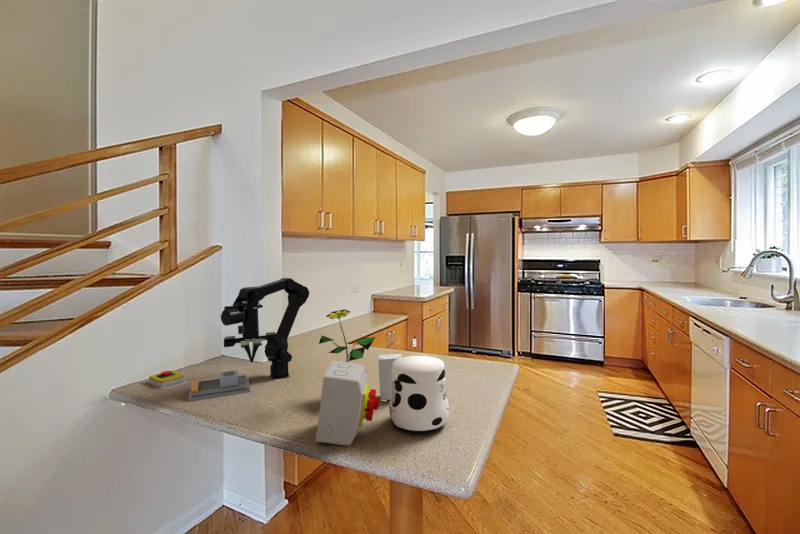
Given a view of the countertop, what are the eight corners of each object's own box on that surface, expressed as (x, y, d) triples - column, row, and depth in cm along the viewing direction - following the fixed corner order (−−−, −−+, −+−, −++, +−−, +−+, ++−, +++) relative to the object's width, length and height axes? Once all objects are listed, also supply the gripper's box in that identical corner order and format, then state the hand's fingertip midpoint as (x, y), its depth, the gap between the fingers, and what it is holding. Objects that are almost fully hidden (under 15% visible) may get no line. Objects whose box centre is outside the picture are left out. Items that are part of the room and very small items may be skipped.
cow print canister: (460, 422, 112) (459, 361, 111) (424, 444, 99) (423, 376, 98) (415, 406, 124) (414, 351, 123) (377, 425, 111) (376, 364, 110)
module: (238, 383, 145) (237, 369, 145) (238, 388, 140) (237, 374, 140) (220, 385, 143) (220, 371, 143) (220, 391, 137) (219, 376, 137)
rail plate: (248, 380, 151) (248, 370, 151) (250, 391, 139) (249, 380, 139) (191, 388, 143) (191, 378, 143) (187, 401, 131) (187, 389, 131)
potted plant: (315, 395, 134) (313, 311, 133) (365, 387, 141) (364, 307, 140) (326, 415, 118) (323, 319, 116) (382, 405, 125) (381, 314, 124)
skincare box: (403, 394, 134) (402, 353, 133) (404, 401, 128) (403, 357, 127) (379, 395, 134) (378, 353, 133) (379, 402, 127) (378, 358, 127)
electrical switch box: (371, 454, 99) (381, 379, 98) (314, 446, 99) (324, 371, 98) (375, 428, 113) (384, 362, 113) (326, 421, 114) (334, 355, 113)
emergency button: (170, 366, 159) (188, 372, 150) (171, 376, 159) (189, 383, 150) (145, 372, 151) (163, 379, 142) (146, 383, 151) (163, 391, 143)
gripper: (274, 315, 155) (275, 353, 155) (223, 319, 147) (225, 359, 148) (277, 320, 145) (278, 360, 145) (222, 324, 137) (224, 367, 138)
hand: (251, 361), depth 144 cm, fingers closed
